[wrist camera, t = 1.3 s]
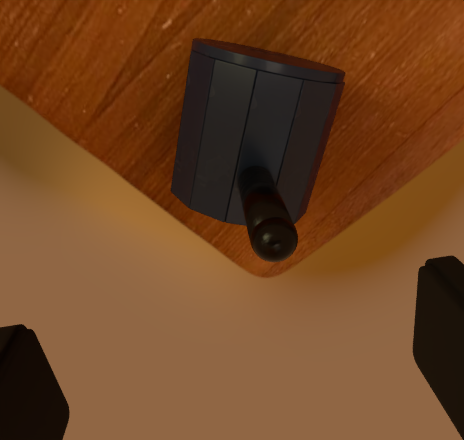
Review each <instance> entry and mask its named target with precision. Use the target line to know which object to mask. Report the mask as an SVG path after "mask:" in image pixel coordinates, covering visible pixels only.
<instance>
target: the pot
mask: <svg viewBox="0 0 464 440" xmlns="http://www.w3.org/2000/svg"><path fill="white" fill-rule="evenodd" d="M344 77H345V72H344V71H342V70H340V69H337V68H334V67H331V66H328V65H325V64H321V63H318V62H314V61H310V60H306V59H302V58H298V57H294V56H290V55H286V54H282V53H277V52H273V51H268V50H264V49H259V48H254V47H250V46H245V45H239V44H234V43H229V42H223V41H217V40H210V39H202V38H194V39H193V41H192V48H191V55H190V62H189V69H188V75H187V82H186V89H185V96H184V103H183V110H182V116H181V123H180V130H179V137H178V144H177V151H176V158H175V164H174V171H173V178H172V185H171V192H172V193H173V194H174V195H175V196H176V197H177V198H178V199H179V200H180V201H182V202H183V203H184V204H185V205H186V206H187V207H188V208H190V209H192V210H194V211H197V212H199V213H202V214H204V215H207V216H209V217H212V218H214V219H217V220H220V221H222V222H226V223H232V224H238V225H245V226H247V229H248V234H249V238H250V242H251V246H252V248H253V250H254V252H255V253H256V254H257V255H258V256H259V257H260V258H261V259H263V260H265V261H269V262H280V261H283V260H285V259H287V258H288V257H290V256H291V255H292V254H293V252H294V251H295V249H296V247H297V243H298V234H297V230H296V228H295V226H294V224H295V223H296V222H297V221H298V220H299V219H300V218H301V217H302V216H303V215H304V214H305V213H306V210H307V207H308V203H309V200H310V197H311V193H312V190H313V187H314V184H315V180H316V177H317V174H318V170H319V167H320V164H321V161H322V157H323V154H324V151H325V147H326V144H327V141H328V138H329V134H330V131H331V128H332V124H333V121H334V118H335V115H336V111H337V108H338V105H339V101H340V98H341V95H342V91H343V88H344V85H345V82H343V80H344Z"/></svg>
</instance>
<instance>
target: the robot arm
mask: <svg viewBox="0 0 464 440" xmlns="http://www.w3.org/2000/svg"><path fill="white" fill-rule="evenodd" d="M416 299H417V300H416V312H415V326H414V339H413V355H414V359H415V362H416V364H417V365H418V367H419V369H420V371H421V372H422V374H423V375H424V377H425V379H426V380H427V382H428V383H429V385H430V387H431V388H432V390H433V392H434V393H435V395H436V396H437V398H438V400H439V401H440V403H441V405H442V406H443V408H444V410H445V411H446V413H447V414H448V416H449V417H450V419H451V421H452V422H453V424H454V426H455V427H456V429H457V431H458V432H459V434H460V435H461V437H462V439H463V440H464V264H463V263H462V262H461V261H459V260H458V259H457V258H456V257H454V256H446V257H439V258H433V259H428V260H427V261H426V263H425V266H422V267H420V268H419V272H418V285H417V298H416ZM68 420H69V406H68V403H67V401H66V399H65V397H64V395H63V393H62V390H61V388H60V386H59V384H58V382H57V380H56V377H55V375H54V373H53V371H52V369H51V367H50V364H49V362H48V360H47V358H46V356H45V354H44V352H43V350H42V347H41V345H40V343H39V341H38V339H37V337H36V334H35V333H34V331H33V330H32V329H27V328H26V327H25V326H24V325H22V324H19V325H13V326H7V327H0V440H62V439H63V436H64V433H65V430H66V427H67V424H68Z"/></svg>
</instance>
